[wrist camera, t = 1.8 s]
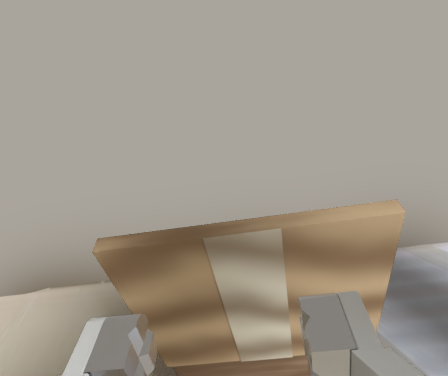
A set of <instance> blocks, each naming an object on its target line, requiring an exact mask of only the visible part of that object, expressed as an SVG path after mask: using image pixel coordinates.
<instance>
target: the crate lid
mask: <svg viewBox="0 0 448 376" xmlns="http://www.w3.org/2000/svg"><path fill="white" fill-rule="evenodd" d="M404 216H405V211H404V209H403V208H402V207H401V205H400V203H399V202H398V200H390V201H382V202H374V203H367V204H359V205H351V206H344V207H336V208H328V209H321V210H313V211H305V212H298V213H290V214H283V215H275V216H267V217H259V218H252V219H244V220H236V221H229V222H221V223H214V224H207V225H198V226H190V227H183V228H175V229H167V230H160V231H152V232H144V233H137V234H129V235H122V236H114V237H106V238H98V239H97V242H96V244H95V247H94V249H93V254H94V255H95V257H96V259H97V260H98V262H99V263H100V265H101V266H102V268H103V269H104V271H105V272H106V274H107V275H108V277H109V278H110V280H111V282H112V283H113V285H114V286H115V288H116V289H117V291H118V292H119V294H120V295H121V297H122V298H123V300H124V301H125V303H126V304H127V306H128V308H129V309H130V311H131V312H132V314H145V315H146V317H147V319H148V321H149V323H148V327H147V329H148V330H150V331H151V332H153V333H154V336H155V338H156V344H157V352H158V353H159V355H160V357H161V358H162V360H163V361H164V363H165V364H166V366H167V367H175V366H186V365H198V364H209V363H221V362H232V361H241V362H244V361H255V360H267V359H278V358H290V357H293V356H300V355H305V351H304V346H303V341H302V335H301V328H300V319H299V318H300V312H299V307H298V297H302V296H310V295H319V294H328V293H339V292H348V291H357V292H358V293H359V295H360V297H361V299H362V302H363V304H364V306H365V308H366V311H367V313H368V315H369V317H370V320H371V322H372V324H373V326H374V329H375V331H376V333H377V329H378V325H379V321H380V317H381V313H382V308H383V304H384V300H385V296H386V292H387V288H388V283H389V279H390V275H391V271H392V267H393V263H394V258H395V254H396V250H397V246H398V241H399V237H400V233H401V229H402V225H403V221H404Z"/></svg>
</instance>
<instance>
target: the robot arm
mask: <svg viewBox="0 0 448 376" xmlns="http://www.w3.org/2000/svg"><path fill="white" fill-rule="evenodd" d="M298 307H299V312H300V318H299V319H300V328H301V335H302V341H303V346H304V351H305V356H307V358H308V369H309V375H310V376H425V375H424V374H423V373H422V372H420V371H419V370H418V369H417V368H415V367H414V366H413V365H412V364H410V363H409V362H408V361H406V360H405V359H404V358H403V357H401V356H400V355H399V354H398V353H396V352H395V351H394V350H393V349H391V348H390V347H382V344H381V342H380V340H379V338H378V335H377V333H376V331H375V329H374V326H373V324H372V322H371V320H370V317H369V315H368V313H367V311H366V308H365V306H364V304H363V302H362V299H361V297H360V295H359V293H358V292H357V291H348V292H339V293H328V294H319V295H310V296H302V297H298ZM148 323H149V321H148V319H147V317H146V315H145V314H132V315H119V316H108V317H96V318H91V319H90V320H89V321H88V322H87V323H86V324H85V326H84V329H83V331H82V333H81V335H80V337H79V340H78V342H77V344H76V346H75V348H74V350H73V353H72V355H71V357H70V359H69V361H68V364H67V366H66V368H65V370H64V372H63V374H62V375H59V376H149V375H150V373H151V372H152V371H153V370H154V369H155V364H156V359H157V344H156V338H155V336H154V333H153V332H151V331H150V330H148V329H147V327H148Z"/></svg>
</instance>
